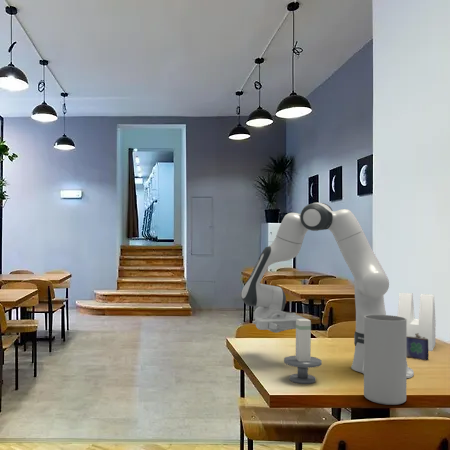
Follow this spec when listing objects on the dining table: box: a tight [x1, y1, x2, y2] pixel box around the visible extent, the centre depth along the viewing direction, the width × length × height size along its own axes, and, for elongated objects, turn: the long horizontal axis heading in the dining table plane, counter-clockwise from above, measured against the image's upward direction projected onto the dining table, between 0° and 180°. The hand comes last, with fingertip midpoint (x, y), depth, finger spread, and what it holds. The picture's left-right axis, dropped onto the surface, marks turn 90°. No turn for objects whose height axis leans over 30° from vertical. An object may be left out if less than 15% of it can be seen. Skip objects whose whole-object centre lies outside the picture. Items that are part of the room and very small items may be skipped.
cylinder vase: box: [363, 314, 407, 406], centre depth 145 cm, size 12×12×25 cm
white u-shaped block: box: [396, 292, 437, 352], centre depth 226 cm, size 19×15×25 cm
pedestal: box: [283, 355, 323, 385], centre depth 163 cm, size 13×13×7 cm
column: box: [295, 318, 312, 362], centre depth 164 cm, size 4×4×14 cm
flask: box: [406, 333, 430, 361], centre depth 199 cm, size 9×3×11 cm, turn 50°
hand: (289, 326), depth 175 cm, fingers open, 8 cm apart
